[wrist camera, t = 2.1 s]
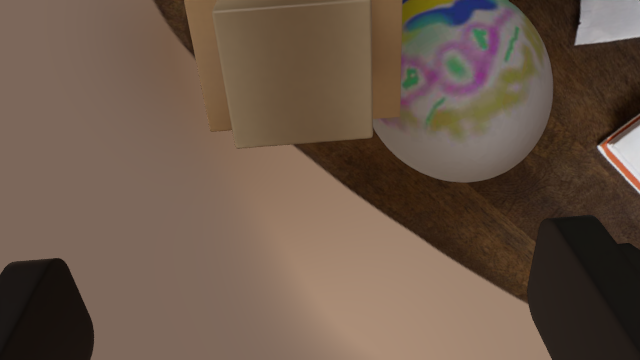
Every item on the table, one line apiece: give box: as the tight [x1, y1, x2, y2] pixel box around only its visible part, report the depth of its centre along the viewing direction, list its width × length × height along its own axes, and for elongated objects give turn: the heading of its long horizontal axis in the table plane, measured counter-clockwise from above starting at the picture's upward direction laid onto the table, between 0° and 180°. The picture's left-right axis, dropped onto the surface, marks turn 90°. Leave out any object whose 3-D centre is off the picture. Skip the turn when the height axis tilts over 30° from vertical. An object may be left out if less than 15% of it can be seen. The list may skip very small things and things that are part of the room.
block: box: [212, 0, 373, 149], centre depth 19 cm, size 5×5×5 cm
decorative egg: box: [373, 0, 553, 182], centre depth 36 cm, size 12×12×15 cm
